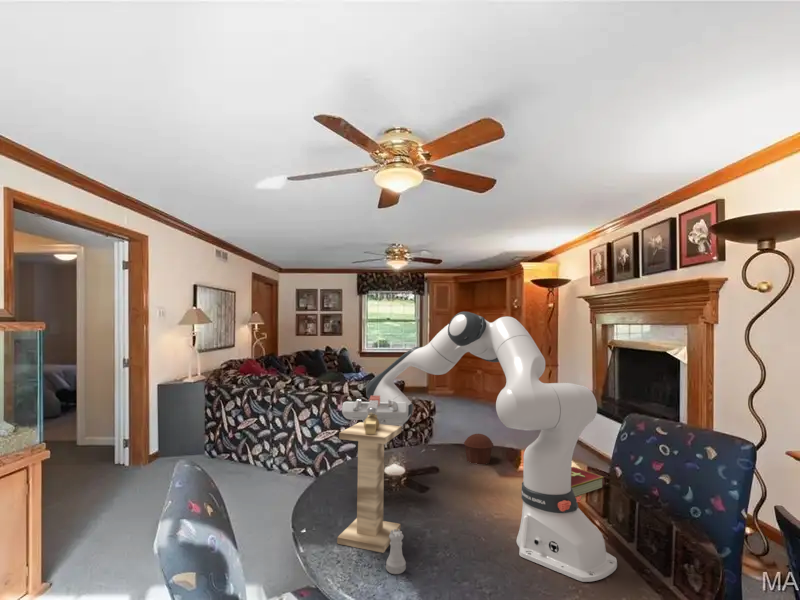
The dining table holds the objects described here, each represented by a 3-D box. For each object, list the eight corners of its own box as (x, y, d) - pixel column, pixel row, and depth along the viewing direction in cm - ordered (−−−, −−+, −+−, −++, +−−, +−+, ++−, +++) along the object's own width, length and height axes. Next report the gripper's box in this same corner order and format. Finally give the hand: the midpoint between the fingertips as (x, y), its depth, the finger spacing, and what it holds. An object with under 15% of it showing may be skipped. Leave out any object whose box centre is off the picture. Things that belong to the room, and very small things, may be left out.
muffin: (486, 468, 163) (486, 440, 163) (459, 462, 168) (459, 436, 169) (497, 459, 173) (497, 433, 173) (470, 454, 178) (471, 429, 179)
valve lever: (377, 415, 111) (377, 408, 111) (365, 415, 111) (365, 408, 111) (380, 401, 130) (380, 395, 130) (370, 401, 130) (370, 395, 130)
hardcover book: (531, 489, 143) (531, 476, 144) (572, 477, 155) (572, 465, 155) (563, 502, 133) (563, 488, 133) (604, 488, 145) (604, 475, 145)
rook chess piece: (405, 563, 98) (406, 527, 99) (406, 575, 94) (407, 536, 94) (385, 563, 98) (386, 527, 98) (385, 575, 94) (386, 536, 94)
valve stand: (383, 552, 103) (385, 423, 104) (337, 543, 107) (339, 419, 108) (400, 529, 114) (401, 413, 115) (358, 522, 118) (359, 409, 119)
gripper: (344, 406, 143) (340, 391, 131) (407, 407, 143) (408, 392, 131) (342, 426, 139) (338, 412, 127) (407, 426, 139) (409, 413, 128)
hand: (374, 402), depth 129 cm, fingers open, 8 cm apart
